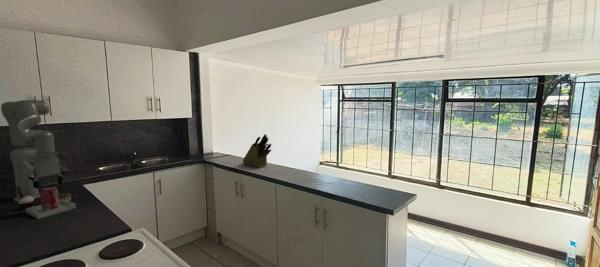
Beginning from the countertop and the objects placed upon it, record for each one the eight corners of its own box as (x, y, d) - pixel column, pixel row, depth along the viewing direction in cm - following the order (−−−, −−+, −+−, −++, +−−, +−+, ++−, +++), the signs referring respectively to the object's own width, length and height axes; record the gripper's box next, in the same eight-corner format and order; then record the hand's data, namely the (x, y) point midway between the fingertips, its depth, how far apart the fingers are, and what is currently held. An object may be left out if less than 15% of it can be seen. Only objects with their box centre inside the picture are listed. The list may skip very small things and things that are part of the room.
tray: (26, 212, 143) (25, 208, 143) (63, 203, 157) (63, 199, 157) (37, 218, 136) (37, 214, 135) (76, 208, 150) (75, 204, 149)
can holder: (39, 203, 158) (38, 198, 158) (65, 197, 169) (65, 192, 168) (48, 207, 152) (47, 201, 152) (74, 200, 163) (74, 195, 162)
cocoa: (35, 208, 151) (35, 187, 150) (20, 211, 146) (19, 190, 144) (31, 204, 156) (30, 184, 155) (15, 207, 151) (15, 186, 150)
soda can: (58, 206, 151) (56, 185, 150) (60, 209, 147) (58, 188, 146) (40, 209, 146) (38, 188, 145) (42, 213, 141) (40, 191, 140)
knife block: (263, 169, 242) (262, 135, 239) (242, 163, 267) (241, 132, 264) (272, 167, 249) (272, 134, 246) (251, 161, 275) (251, 132, 272)
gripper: (63, 151, 153) (65, 180, 155) (20, 156, 138) (24, 188, 140) (68, 153, 149) (71, 183, 151) (26, 158, 134) (29, 191, 136)
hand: (48, 185), depth 145 cm, fingers open, 9 cm apart
